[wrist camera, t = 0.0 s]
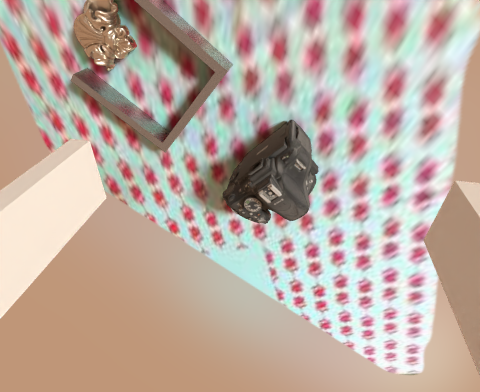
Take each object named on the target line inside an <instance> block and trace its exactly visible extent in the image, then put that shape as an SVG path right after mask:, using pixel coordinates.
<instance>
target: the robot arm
mask: <svg viewBox="0 0 480 392" xmlns="http://www.w3.org/2000/svg"><path fill="white" fill-rule="evenodd" d="M105 199H106V195H105V191H104V188H103V185H102V181H101V178H100V174H99V171H98V168H97V164H96V161H95V158H94V154H93V151H92V148H91V144H90V141H86V140H77V139H71V140H69V141H68V142H66V143H65V144H64V145H62V146H61V147H60V148H58V149H57V150H55V151H54V152H53V153H51V154H50V155H48V156H47V157H46V158H44V159H43V160H42V161H40V162H39V163H37V164H36V165H35V166H33V167H32V168H31V169H29V170H28V171H27V172H25V173H24V174H22V175H21V176H20V177H18V178H17V179H15V180H14V181H13V182H11V183H10V184H9V185H7V186H6V187H4V188H3V189H2V190H0V318H1V317H2V316H3V315H4V314H5V313H6V312H7V310H8V309H9V308H10V307H11V306H12V305H13V304H14V302H15V301H16V300H17V299H18V298H19V297H20V296H21V295H22V293H23V292H24V291H25V290H26V289H27V288H28V287H29V285H30V284H31V283H32V282H33V281H34V280H35V278H36V277H37V276H38V275H39V274H40V273H41V272H42V271H43V269H44V268H45V267H46V266H47V265H48V264H49V263H50V262H51V260H52V259H53V258H54V257H55V256H56V255H57V253H58V252H59V251H60V250H61V249H62V248H63V247H64V245H65V244H66V243H67V242H68V241H69V240H70V239H71V238H72V236H73V235H74V234H75V233H76V232H77V231H78V230H79V229H80V227H81V226H82V225H83V224H84V223H85V222H86V221H87V219H88V218H89V217H90V216H91V215H92V214H93V213H94V211H95V210H96V209H97V208H98V207H99V206H100V205H101V203H102V202H103V201H104V200H105ZM424 242H425V245H426V247H427V250H428V252H429V255H430V257H431V259H432V262H433V264H434V267H435V269H436V272H437V274H438V276H439V279H440V281H441V284H442V286H443V288H444V291H445V293H446V296H447V298H448V301H449V303H450V305H451V308H452V310H453V312H454V315H455V317H456V320H457V322H458V325H459V327H460V330H461V332H462V334H463V336H464V339H465V342H466V344H467V346H468V349H469V351H470V354H471V356H472V359H473V361H474V363H475V366H476V368H477V371H478V373H479V375H480V183H472V182H462V181H455V182H454V184H453V185H452V187H451V189H450V191H449V193H448V195H447V197H446V199H445V201H444V203H443V204H442V206H441V208H440V210H439V212H438V214H437V216H436V218H435V220H434V222H433V223H432V225H431V227H430V229H429V231H428V233H427V235H426V237H425V239H424Z"/></svg>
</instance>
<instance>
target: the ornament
mask: <svg viewBox="0 0 480 392" xmlns="http://www.w3.org/2000/svg"><path fill="white" fill-rule="evenodd" d="M117 12H118V5H117V4H116V3H115V2H114V0H87V1H86V2H85V4H84V13H83V14H81V15H79V16H78V17H77V18H76V20H75V22H74V31H75V34H76V37H77V39H78V41H79V42H80V44H81V45H82V46H83V47H84V48H85V49H84V51H85V53H86V54H87V56H88V57H91V58H92V59H94V62H95V64H97V65H100V66H105V67H106V68H107V71H110V70H111V69H113V68H114V67H115V64H114V59H115V57H116V58H118V59H123V58H125V57H126V56H127V55H128V53H129V52H130V51H132V50H134V49H135V48H136V47H137V45H136V42H135V40H134V39H133V38H132V37H131V36H129V30H128V28H127V26H125V25H121V20H120V17H119V15H118V13H117ZM120 25H121V26H120ZM101 46H102V48H103V49H102V48H101Z"/></svg>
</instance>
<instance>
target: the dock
mask: <svg viewBox="0 0 480 392" xmlns="http://www.w3.org/2000/svg"><path fill="white" fill-rule="evenodd" d="M134 1H136V2H137V3H138V4H139V5H140V6H141V7H142V8H143V9H145V10H146V11H147V12H148V13H149V14H150V15H151V16H152V17H154V18H155V19H156V20H157V21H158V22H159V23H160V24H161V25H163V26H164V27H165V28H166V29H167V30H168V31H169V32H170V33H172V34H173V35H174V36H175V37H176V38H177V39H178V40H179V41H181V42H182V43H183V44H184V45H185V46H186V47H187V48H188V49H190V50H191V51H192V52H193V53H194V54H195V55H196V56H198V57H199V58H200V59H201V60H202V61H203V62H204V63H205V64H207V65H208V66H209V67H210V68H211V69H212V70H213V71H214V72H215V73H214V75H213V76H212V77H211V79H210V80H209V81H208V83H207V84H206V85H205V87H204V88H203V89H202V91H201V92H200V93H199V95H198V96H197V97H196V99H195V100H194V101H193V103H192V104H191V105H190V107H189V108H188V109H187V111H186V112H185V114H184V115H183V116H182V118H181V119H180V120H179V122H178V123H177V124H176V126H175V127H174V128H173V130H172V131H171V132H169V131H167V130H166V129H165V128H163V127H162V126H161V125H160V124H158V123H157V122H156V121H155V120H153V119H152V118H151V117H149V116H148V115H147V114H146V113H144V112H143V111H142V110H141V109H139V108H138V107H137V106H135V105H134V104H133V103H132V102H130V101H129V100H128V99H126V98H125V97H124V96H123V95H121V94H120V93H119V92H118V91H116V90H115V89H114V88H112V87H111V86H110V85H109V84H107V83H106V82H105V81H103V80H102V79H101V78H100V77H98V76H97V75H96V74H95V73H93V72H92V71H91V70H89V69H88V68H86V69H84V70H82V71H80V72H77V73H75V74H73V76H72V79H71V81H72V82H73V83H74V84H76V85H77V86H78V87H80V88H81V89H82V90H84V91H85V92H86V93H88V94H89V95H90V96H91V97H93V98H94V99H95V100H97V101H98V102H99V103H101V104H102V105H103V106H105V107H106V108H107V109H109V110H110V111H111V112H113V113H114V114H115V115H117V116H118V117H119V118H120V119H122V120H123V121H124V122H126V123H127V124H128V125H130V126H131V127H132V128H134V129H135V130H136V131H138V132H139V133H140V134H142V135H143V136H144V137H146V138H147V139H148V140H149V141H151V142H152V143H153V144H155V145H156V146H157V147H159V148H160V149H161V150H163V151H164V152H166V151H167V150H168V148H169V147H170V146H171V144H172V143H173V142H174V140H175V139H176V138H177V137H178V135H179V134H180V133H181V131H182V130H183V129H184V128H185V126H186V125H187V124H188V122H189V121H190V120H191V118H192V117H193V116H194V115H195V113H196V112H197V111H198V109H199V108H200V107H201V105H202V104H203V103H204V102H205V100H206V99H207V98H208V96H209V95H210V94H211V93H212V91H213V90H214V89H215V87H216V86H217V85H218V83H219V82H220V81H221V80H222V78H223V77H224V76H225V74H226V73H227V72H228V70H229V69H230V68H231V67H232V65H233V64H232V63H231V62H230V61H229V60H227V59H226V58H225V57H224V56H223V55H222V54H221V53H220V52H219V51H218V50H217V49H215V48H214V47H213V46H212V45H211V44H210V43H209V42H208V41H207V40H206V39H205V38H203V37H202V36H201V35H200V34H199V33H198V32H197V31H196V30H195V29H194V28H192V27H191V26H190V25H189V24H188V23H187V22H186V21H185V20H184V19H183V18H182V17H180V16H179V15H178V14H177V13H176V12H175V11H174V10H173V9H172V8H171V7H169V6H168V5H167V4H166V3H165V2H164V1H163V0H134Z"/></svg>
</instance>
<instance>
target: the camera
mask: <svg viewBox="0 0 480 392" xmlns="http://www.w3.org/2000/svg"><path fill="white" fill-rule="evenodd" d="M311 152H312V150H311V142H310V139H309V137H308V136H307V135H306V134H305V132H304V131H303V130H302V128H301V127H300V126H299V125H298V124H297V123H296V122H295V121H293V120H290V121H289V122H288V123H286V124H285V125H283V126H282V127H281V128H280V129H278V130H277V131H276V132H274V133H273V134H272V135H271V136H269V137H268V138H267V139H266V140H264V141H263V142H262V143H261V144H259V145H258V146H257V147H255V148H254V149H253V150H252V151H250V152H249V153H248V154H247V155H246V156H245V157H244V158H243V161H242V162H241V163H240V164H239V165H238V167H237V168H236V169H235V170H234V172H233V174H232V176H231V178H230V182H229V185H228V188H227V190H225V191H224V192H223V198H224V199H225V201H226V203H227V205H228V206H229V207H230V208H231V209H232V211H233V212H235V213H236V214H239V215H240V216H242V217H244V218H246V219H248V220H251V221H253V222H257V223H264V224H266V223H268V221H269V220H270V218H271V214H270V212H269V210H272V211H274V212H276V213H277V214H279V215H280V216H282V217H283V218H285V219H287V220H289V221H294V220H296V219H298V218H300V217H302V216H304V215H305V214H306V213H307V212H308V210H309V206H310V203H309V198H308V195H309V194H310V193H311V191H312V190H313V188H314V186H315V184H316V176H315V174H317V173H318V166H317V165H316V164H315V162H314V161H313V160H312V158H311ZM268 209H269V210H268Z"/></svg>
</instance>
